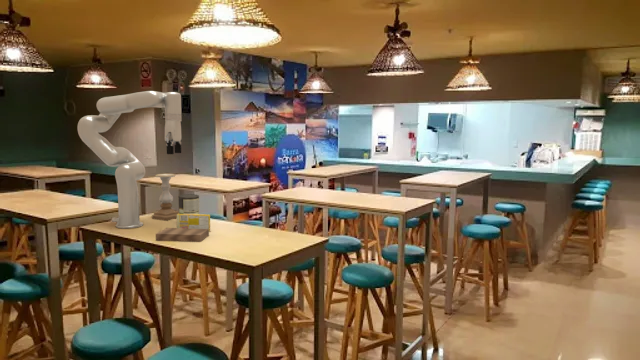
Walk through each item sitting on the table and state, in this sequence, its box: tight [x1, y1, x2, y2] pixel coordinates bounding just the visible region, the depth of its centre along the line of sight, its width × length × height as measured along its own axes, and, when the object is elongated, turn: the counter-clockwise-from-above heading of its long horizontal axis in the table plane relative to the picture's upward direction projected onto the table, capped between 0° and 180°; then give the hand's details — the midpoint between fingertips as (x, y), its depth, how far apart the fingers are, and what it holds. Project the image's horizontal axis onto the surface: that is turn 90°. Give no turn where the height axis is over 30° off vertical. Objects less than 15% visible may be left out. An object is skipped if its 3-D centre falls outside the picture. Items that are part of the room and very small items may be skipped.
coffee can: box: [178, 193, 200, 214], centre depth 240 cm, size 10×10×14 cm
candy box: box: [176, 213, 211, 233], centre depth 221 cm, size 16×2×8 cm, turn 84°
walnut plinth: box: [155, 227, 210, 243], centre depth 207 cm, size 20×12×3 cm, turn 86°
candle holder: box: [151, 173, 179, 222], centre depth 250 cm, size 11×11×24 cm
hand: (174, 153), depth 224 cm, fingers open, 9 cm apart
